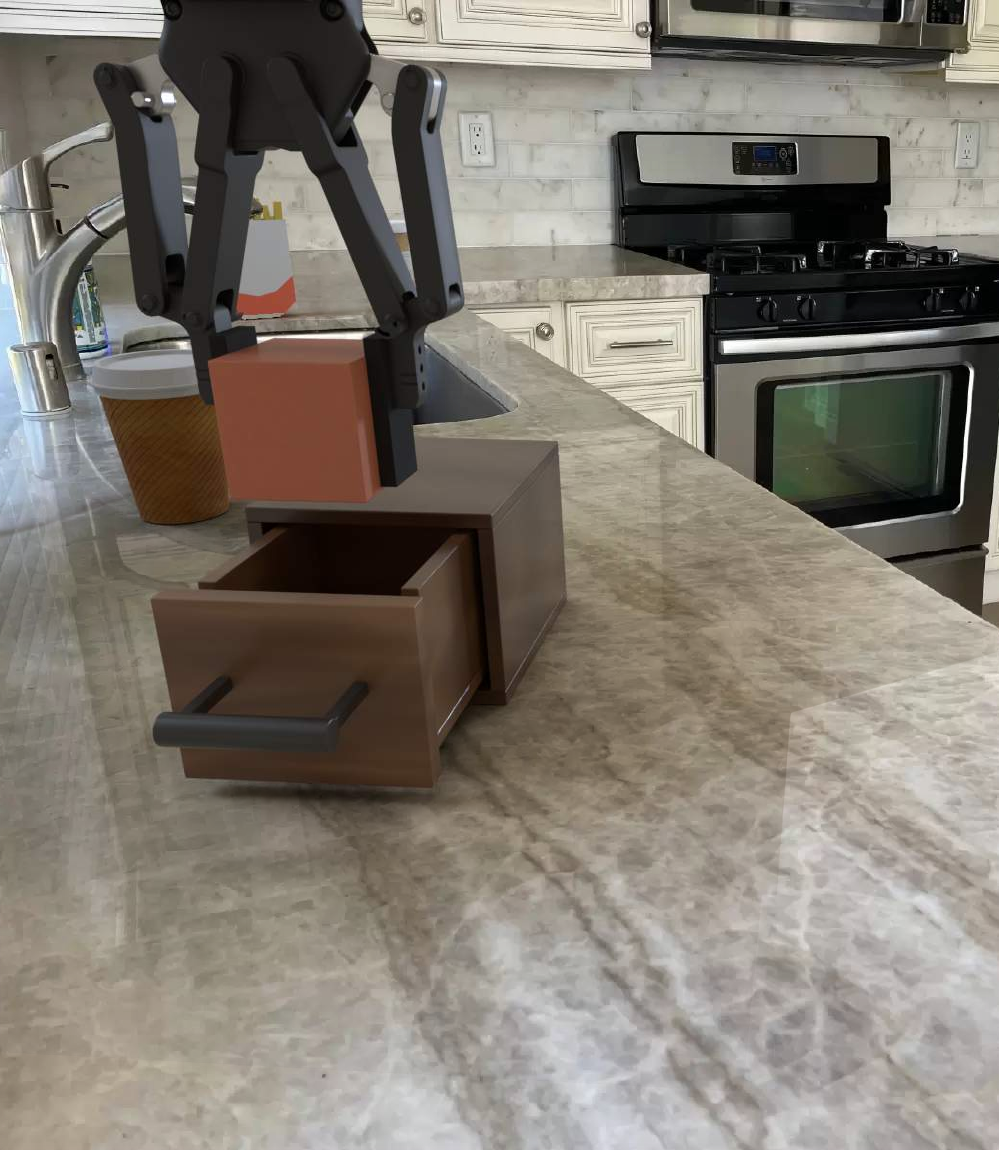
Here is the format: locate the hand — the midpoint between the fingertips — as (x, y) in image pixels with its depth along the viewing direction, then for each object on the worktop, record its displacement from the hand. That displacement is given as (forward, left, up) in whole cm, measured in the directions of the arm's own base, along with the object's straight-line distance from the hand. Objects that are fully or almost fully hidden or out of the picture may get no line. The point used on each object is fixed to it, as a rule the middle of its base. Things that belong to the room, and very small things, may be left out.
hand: (326, 475), depth 52 cm
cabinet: (-4, +11, -14) cm, 18 cm away
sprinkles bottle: (-97, +128, -14) cm, 161 cm away
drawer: (0, -1, -13) cm, 13 cm away
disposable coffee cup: (-37, +24, -14) cm, 46 cm away
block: (0, 0, 0) cm, 0 cm away
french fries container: (-105, +103, -14) cm, 147 cm away
